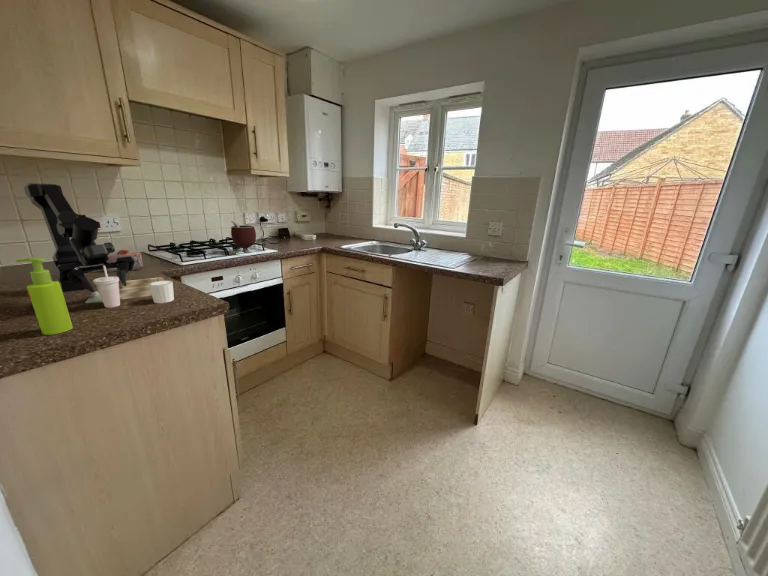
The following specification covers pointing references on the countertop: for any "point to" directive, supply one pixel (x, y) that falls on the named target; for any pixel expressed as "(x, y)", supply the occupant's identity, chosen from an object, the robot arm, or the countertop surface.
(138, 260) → the food item
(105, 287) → the smoothie
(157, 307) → the countertop surface
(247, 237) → the mate gourd
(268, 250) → the countertop surface
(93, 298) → the pale green flat block
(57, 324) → the soap dispenser
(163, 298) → the white ramekin
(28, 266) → the countertop surface
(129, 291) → the wooden serving board
